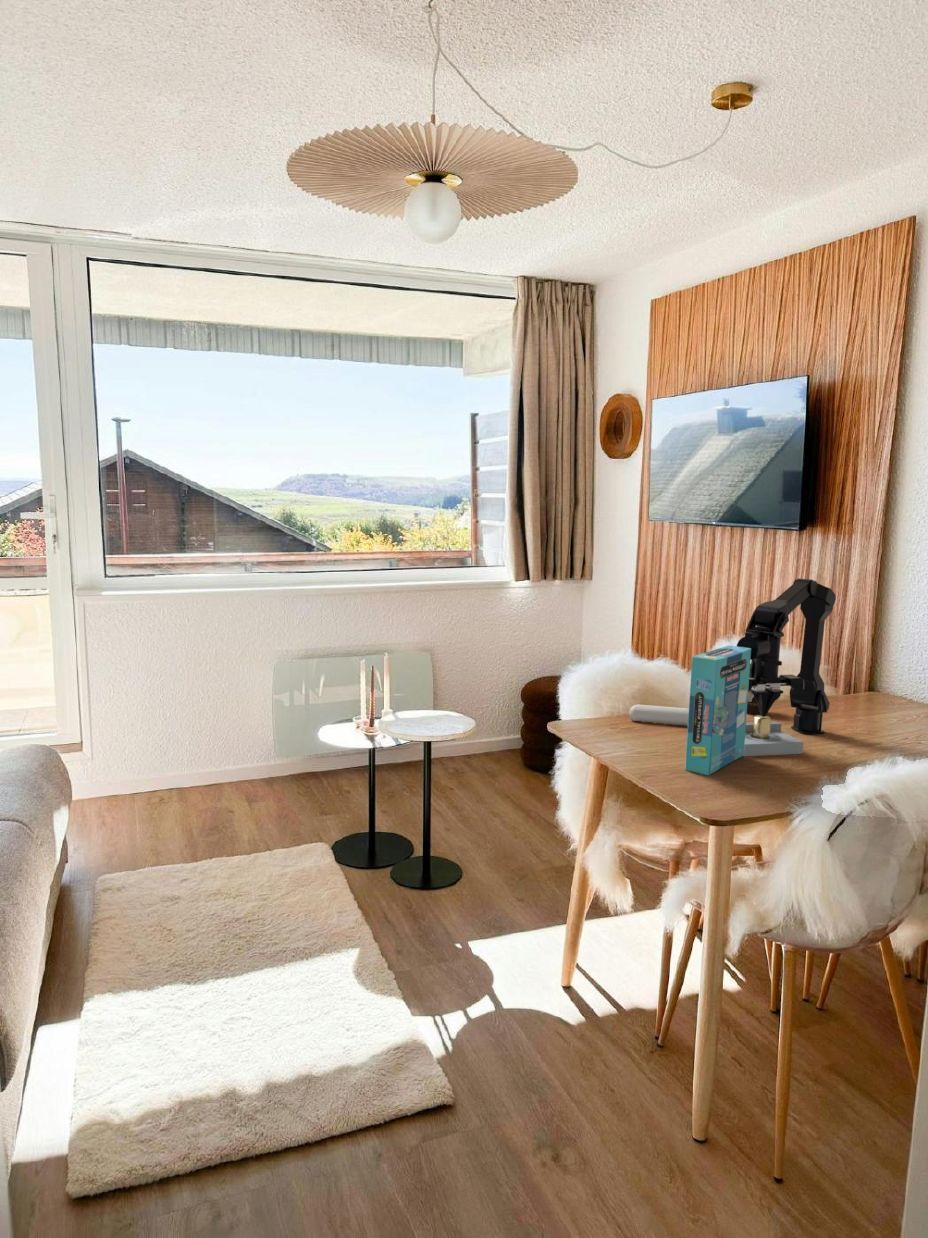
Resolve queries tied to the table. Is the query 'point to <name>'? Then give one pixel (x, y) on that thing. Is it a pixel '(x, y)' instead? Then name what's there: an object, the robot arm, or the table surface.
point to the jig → (771, 742)
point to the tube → (659, 714)
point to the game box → (717, 708)
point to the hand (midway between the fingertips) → (762, 716)
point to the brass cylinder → (761, 727)
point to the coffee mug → (753, 703)
